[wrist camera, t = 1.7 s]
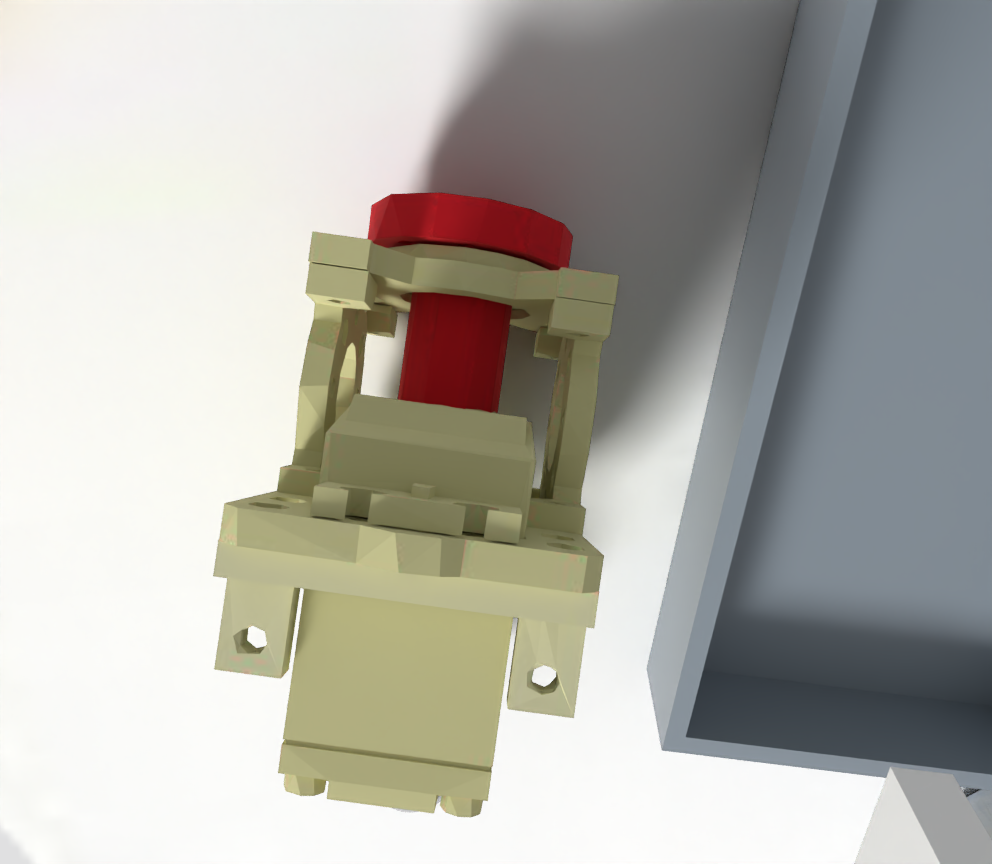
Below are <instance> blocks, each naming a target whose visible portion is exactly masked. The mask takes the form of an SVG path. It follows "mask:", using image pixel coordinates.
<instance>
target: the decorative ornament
mask: <svg viewBox="0 0 992 864" xmlns="http://www.w3.org/2000/svg"><path fill="white" fill-rule="evenodd" d="M966 798H967V799H968V801H969V803H970V804H971V806H972V808H973V809H974V811H975V813H976V814H977V816H978V818H979V819H980V821H981V823H982V824H983V826H984V828H985V829H986V831H987V833H988V835H989V836H990V838H991V840H992V791H990V790H982V789H981V790H979V791H977V792H976V793H974V794H972V795H970V796H968V797H966Z"/></svg>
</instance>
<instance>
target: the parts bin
mask: <svg viewBox="0 0 992 864" xmlns="http://www.w3.org/2000/svg"><path fill="white" fill-rule="evenodd" d="M647 672H648V678H649V683H650V689H651V694H652V700H653V705H654V710H655V716H656V721H657V727H658V732H659V738H660V743H661V748H662V750H663V751H671V752H679V753H688V754H696V755H704V756H712V757H720V758H729V759H737V760H745V761H753V762H761V763H769V764H778V765H786V766H794V767H802V768H810V769H819V770H827V771H835V772H843V773H851V774H859V775H868V776H876V777H884V778H886V777H887V775H888V772H889V769H890V767H896V768H904V769H913V770H921V771H929V772H937V773H946V774H953V776H954V777H955V779H956V781H957V782H958V784H959V786H960V787H966V788H974V789H982V790H990V791H992V0H800V3H799V7H798V11H797V16H796V20H795V25H794V29H793V33H792V38H791V42H790V46H789V51H788V55H787V59H786V64H785V68H784V73H783V77H782V81H781V86H780V90H779V94H778V99H777V103H776V107H775V112H774V116H773V121H772V125H771V129H770V134H769V138H768V142H767V147H766V151H765V155H764V160H763V164H762V169H761V173H760V177H759V182H758V186H757V190H756V195H755V199H754V203H753V208H752V212H751V217H750V221H749V225H748V230H747V234H746V238H745V243H744V247H743V251H742V256H741V260H740V265H739V269H738V273H737V278H736V282H735V286H734V291H733V295H732V299H731V304H730V308H729V313H728V317H727V321H726V326H725V330H724V334H723V339H722V343H721V347H720V352H719V356H718V361H717V365H716V369H715V374H714V378H713V382H712V387H711V391H710V395H709V400H708V404H707V409H706V413H705V417H704V422H703V426H702V430H701V435H700V439H699V443H698V448H697V452H696V457H695V461H694V465H693V470H692V474H691V478H690V483H689V487H688V491H687V496H686V500H685V505H684V509H683V513H682V518H681V522H680V526H679V531H678V535H677V539H676V544H675V548H674V553H673V557H672V561H671V566H670V570H669V574H668V579H667V583H666V587H665V592H664V596H663V601H662V605H661V609H660V614H659V618H658V622H657V627H656V631H655V635H654V640H653V644H652V649H651V653H650V657H649V662H648V666H647Z"/></svg>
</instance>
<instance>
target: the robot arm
mask: <svg viewBox="0 0 992 864" xmlns="http://www.w3.org/2000/svg"><path fill="white" fill-rule="evenodd" d="M854 864H992V840H991V838H990V836H989V835H988V833H987V831H986V829H985V828H984V826H983V824H982V823H981V821H980V819H979V818H978V816H977V814H976V813H975V811H974V809H973V808H972V806H971V804H970V803H969V801H968V799H967V798H966V796H965V794H964V793H963V791H962V789H961V787H960V786H959V784H958V782H957V781H956V779H955V777H954V776H953V774H946V773H937V772H929V771H921V770H913V769H904V768H896V767H890V769H889V772H888V775H887V777H886V780H885V783H884V785H883V788H882V791H881V793H880V796H879V799H878V801H877V804H876V807H875V809H874V812H873V815H872V817H871V820H870V823H869V825H868V828H867V831H866V833H865V836H864V839H863V841H862V844H861V847H860V849H859V852H858V855H857V857H856V860H855V863H854Z"/></svg>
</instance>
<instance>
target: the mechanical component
mask: <svg viewBox="0 0 992 864" xmlns="http://www.w3.org/2000/svg"><path fill="white" fill-rule="evenodd" d="M572 239H573V236H572V234H571V233H570V231H569V230H568V229H567V227H566V226H565V225H564V224H563V223H561V222H559V221H556V220H554V219H552V218H550V217H548V216H545V215H543V214H541V213H539V212H536V211H534V210H532V209H528V208H524V207H520V206H516V205H512V204H508V203H504V202H500V201H496V200H492V199H486V198H478V197H471V196H463V195H455V194H447V193H412V194H391V195H389V196H387V197H385V198H384V199H382V200H380V201H378V202H377V203H375V204H373V205H372V208H371V216H370V225H369V233H368V239H361V238H354V237H347V236H340V235H333V234H326V233H319V232H312V239H311V246H310V253H309V260H308V261H309V262H310V265H309V272H308V279H307V286H306V294H307V295H308V296H309V297H310V298H311V299H312V300H313V301H314V302H315V309H314V320H313V324H312V327H311V331H310V335H309V339H308V343H307V348H306V354H305V359H304V365H303V370H302V375H301V381H300V386H299V400H298V414H297V427H296V441H295V451H294V456H293V461H292V465H288V466H284V467H281V468H280V475H279V482H278V489H277V491H274V492H270V493H266V494H262V495H257V496H253V497H249V498H245V499H241V500H237V501H232V502H228V503H225V504H224V511H223V518H222V524H221V531H220V538H219V540H218V547H217V554H216V561H215V568H214V575H213V576H216V577H223V578H227V585H226V592H225V599H224V606H223V613H222V620H221V627H220V634H219V641H218V648H217V655H216V661H215V668H214V669H215V670H222V671H230V672H237V673H245V674H252V675H259V676H267V677H274V678H282V676H283V675H284V674H285V673H286V672H287V671H288V669H289V662H290V655H291V648H292V641H293V634H294V627H295V620H296V613H297V606H298V599H299V592H300V588H303V589H304V594H303V601H302V608H301V616H300V623H299V630H298V637H297V644H296V651H295V658H294V665H293V672H292V679H291V686H290V693H289V700H288V707H287V714H286V721H285V728H284V735H283V739H285V740H284V742H283V743H282V747H281V755H280V763H279V770H278V773H282V774H285V778H284V787H285V790H286V791H287V792H290V793H294V794H297V795H300V796H315V795H317V794H320V793H323V792H324V790H325V785H326V781H329V785H328V793H327V799H331V800H339V801H346V802H354V803H361V804H368V805H376V806H383V807H391V808H398V809H405V810H413V811H420V812H428V813H434V810H435V807H436V803H437V799H438V796H441V803H440V806H441V807H442V809H443V810H444V811H445V812H446V813H449V814H452V815H454V816H457V817H473V816H476V815H478V814H480V812H481V807H482V802H483V800H485V801H488V794H489V787H490V780H491V767H492V766H493V759H494V752H495V744H496V737H497V730H498V723H499V716H500V708H501V701H502V694H503V687H504V679H505V672H506V665H507V658H508V651H509V643H510V636H511V629H512V622H513V617H515V618H518V622H517V629H516V636H515V644H514V651H513V658H512V665H511V672H510V680H509V687H508V694H507V706H508V709H511V710H518V711H525V712H533V713H540V714H548V715H555V716H562V717H570V718H574V712H575V705H576V697H577V690H578V683H579V676H580V668H581V661H582V654H583V647H584V639H585V632H586V627H588V628H594V625H595V618H596V611H597V603H598V596H599V586H600V579H601V572H602V565H603V558H604V555H602V554H601V553H600V552H599V551H598V550H597V549H596V548H595V547H594V546H593V545H592V544H590V543H589V542H588V541H587V540H586V539H585V538H584V537H583V536H582V534H583V526H584V519H585V512H586V509H585V508H584V507H583V506H581V505H580V503H581V491H582V485H583V480H584V475H585V470H586V465H587V460H588V455H589V448H590V441H591V434H592V428H593V421H594V414H595V407H596V399H597V387H598V375H599V362H600V355H601V349H602V344H603V341H605V340H606V339H607V338H608V337H609V336H610V331H611V324H612V317H613V310H614V305H615V302H616V294H617V287H618V280H619V275H612V274H605V273H599V272H592V271H585V270H578V269H571V268H568V267H569V260H570V253H571V246H572ZM397 312H410V313H409V320H408V327H407V335H406V342H405V349H404V357H403V364H402V372H401V379H400V386H399V394H398V400H397V399H390V398H383V397H375V396H368V395H361V394H360V393H361V384H362V375H363V367H364V352H365V341H366V336H367V334H371V335H378V336H385V337H392V338H394V337H395V330H396V323H397V316H398V315H397V314H396V313H397ZM510 325H513V326H517V327H520V328H524V329H527V330H531V331H535V332H537V334H536V341H535V348H534V356H533V357H538V358H545V359H552V360H558V365H557V371H556V377H555V383H554V388H553V394H552V401H551V407H550V414H549V421H548V428H547V435H546V444H545V453H544V462H543V471H542V479H541V486H540V489H536V488H532V485H533V478H534V472H535V465H536V458H535V449H534V440H533V431H532V422H528V421H527V418H525V417H517V416H510V415H503V414H497V413H498V405H499V398H500V391H501V384H502V376H503V369H504V362H505V355H506V347H507V340H508V333H509V326H510ZM251 626H255V627H257V628H259V629H261V630H263V631H265V634H266V641H267V645H266V646H264V647H260V648H255V647H254V646H253V645H252V644H251V643H249V642H248V641H247V635H248V628H249V627H251ZM542 665H546V666H548V667H551V668H552V669H554V670H555V671H556V678H555V679H554V680H553V681H552V682H551V683H550V684H549V685H547V686H545V687H543V686H541V685H538V684H536V683H533V682H532V675H533V671H534V669H536V668H538V667H540V666H542Z"/></svg>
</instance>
